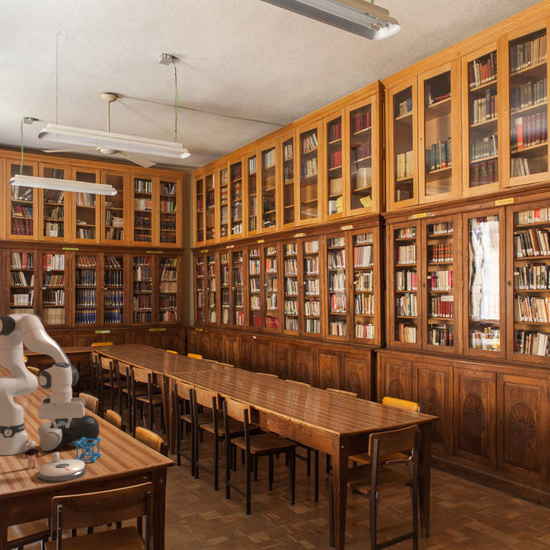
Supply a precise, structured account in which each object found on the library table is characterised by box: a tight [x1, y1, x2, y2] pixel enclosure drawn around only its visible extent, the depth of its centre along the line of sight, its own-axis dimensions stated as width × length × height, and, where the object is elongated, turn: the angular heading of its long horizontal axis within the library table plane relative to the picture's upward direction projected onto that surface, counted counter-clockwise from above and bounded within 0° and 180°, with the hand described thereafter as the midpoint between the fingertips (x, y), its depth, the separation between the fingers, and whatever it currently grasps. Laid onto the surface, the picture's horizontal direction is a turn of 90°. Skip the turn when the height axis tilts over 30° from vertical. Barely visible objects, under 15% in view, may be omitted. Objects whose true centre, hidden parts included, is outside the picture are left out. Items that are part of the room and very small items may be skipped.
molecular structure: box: [74, 436, 102, 464], centre depth 257 cm, size 10×10×10 cm
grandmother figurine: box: [22, 440, 42, 471], centre depth 245 cm, size 8×4×13 cm, turn 139°
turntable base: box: [37, 465, 87, 483], centre depth 237 cm, size 20×20×2 cm
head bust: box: [37, 415, 100, 453], centre depth 279 cm, size 22×17×30 cm
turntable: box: [39, 451, 86, 477], centre depth 237 cm, size 19×19×6 cm
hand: (61, 427), depth 244 cm, fingers open, 4 cm apart
